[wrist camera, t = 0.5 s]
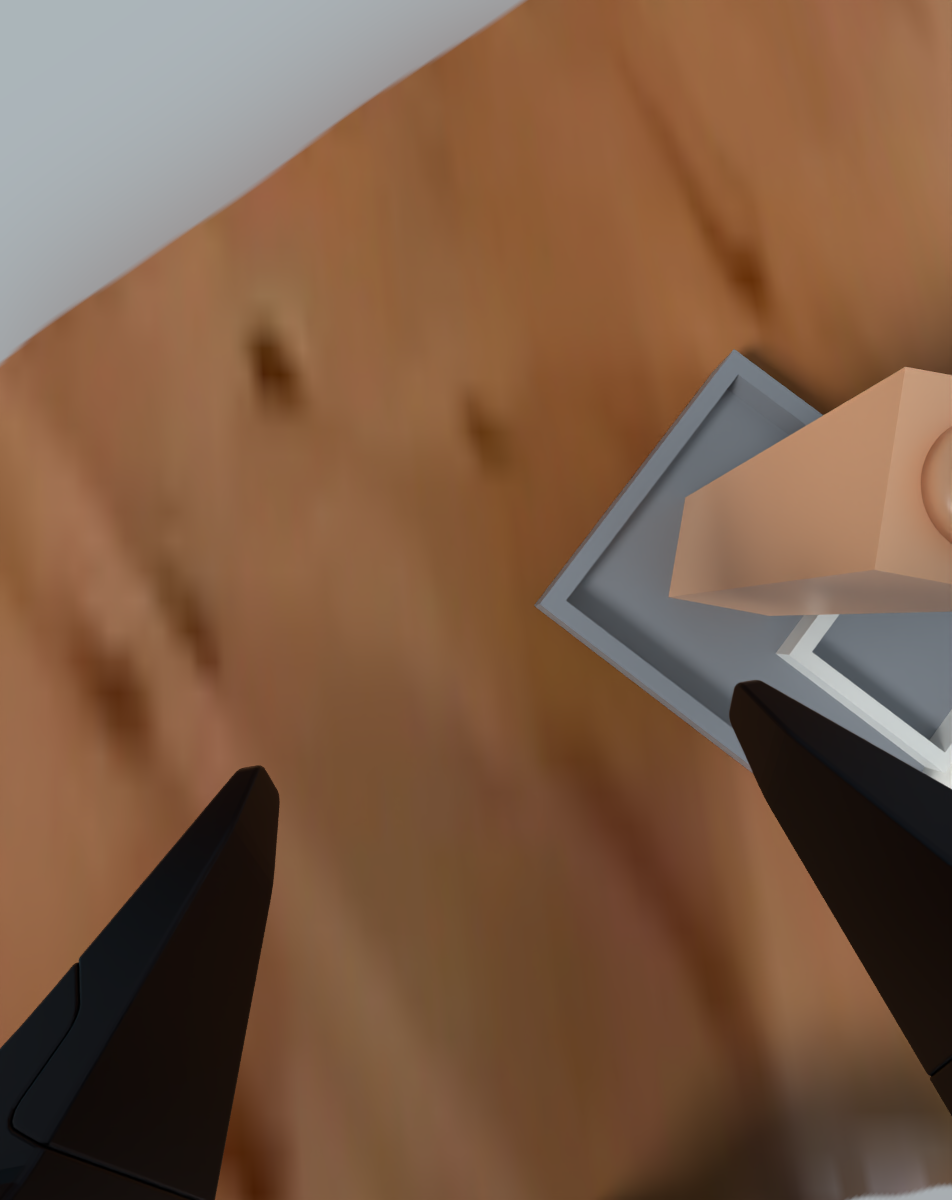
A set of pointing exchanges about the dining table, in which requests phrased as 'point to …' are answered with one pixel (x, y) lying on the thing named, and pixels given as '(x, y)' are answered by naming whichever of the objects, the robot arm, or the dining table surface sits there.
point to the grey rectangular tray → (738, 638)
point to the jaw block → (833, 513)
